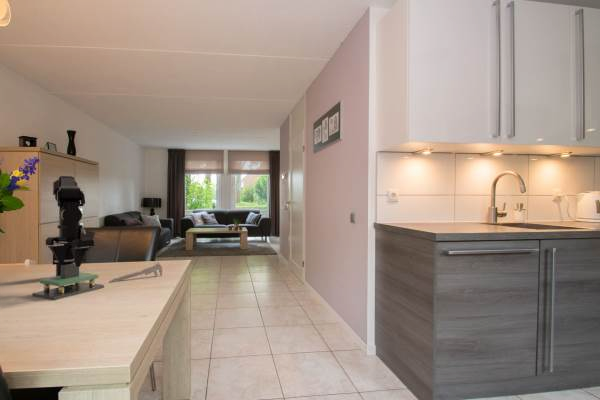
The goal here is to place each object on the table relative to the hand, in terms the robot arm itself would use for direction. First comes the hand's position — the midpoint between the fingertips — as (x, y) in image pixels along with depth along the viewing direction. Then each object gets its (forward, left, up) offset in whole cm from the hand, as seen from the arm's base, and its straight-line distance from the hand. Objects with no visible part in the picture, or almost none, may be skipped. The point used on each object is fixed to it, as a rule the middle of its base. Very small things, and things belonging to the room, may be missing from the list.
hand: (69, 265), depth 127 cm
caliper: (+5, +25, -10) cm, 27 cm away
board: (0, 0, -5) cm, 5 cm away
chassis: (0, 0, -9) cm, 9 cm away
